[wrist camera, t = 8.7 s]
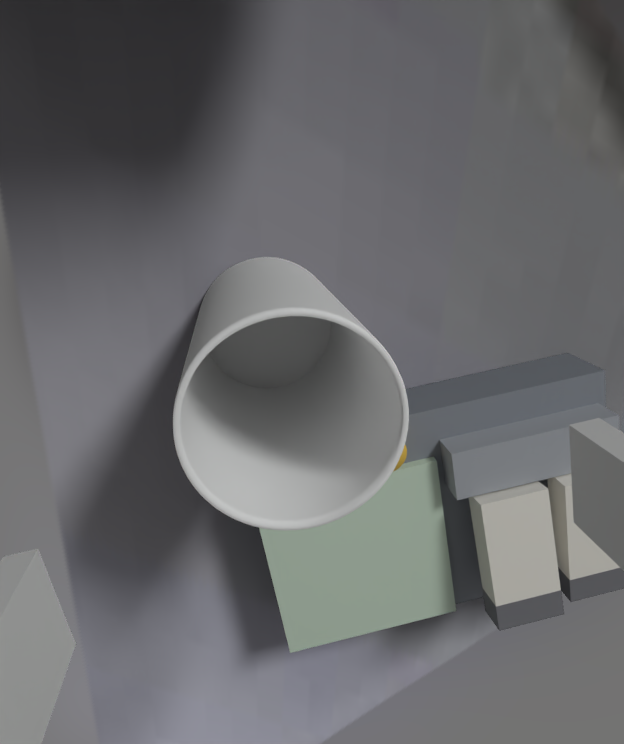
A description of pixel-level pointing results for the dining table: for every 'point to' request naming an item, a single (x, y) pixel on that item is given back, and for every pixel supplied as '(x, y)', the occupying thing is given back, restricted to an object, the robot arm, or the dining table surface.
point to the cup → (286, 401)
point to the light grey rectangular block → (517, 555)
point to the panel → (446, 505)
